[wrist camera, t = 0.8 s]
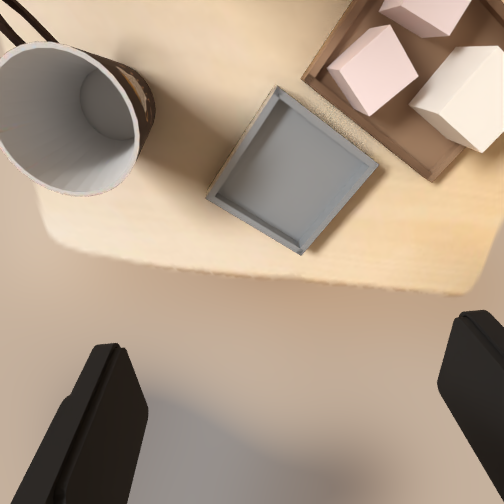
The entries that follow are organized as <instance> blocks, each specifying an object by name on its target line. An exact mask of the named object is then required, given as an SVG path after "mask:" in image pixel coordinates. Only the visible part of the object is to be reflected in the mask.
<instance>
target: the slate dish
mask: <svg viewBox="0 0 504 504" xmlns="http://www.w3.org/2000/svg"><path fill="white" fill-rule="evenodd" d="M378 166H379V164H378V163H376V162H375V161H374V160H373V159H371V158H370V157H369V156H368V155H366V154H365V153H364V152H362V151H361V150H360V149H358V148H357V147H356V146H355V145H353V144H352V143H351V142H349V141H348V140H347V139H346V138H344V137H343V136H342V135H340V134H339V133H338V132H336V131H335V130H334V129H333V128H331V127H330V126H329V125H327V124H326V123H325V122H323V121H322V120H321V119H320V118H318V117H317V116H316V115H314V114H313V113H312V112H311V111H309V110H308V109H307V108H305V107H304V106H303V105H301V104H300V103H299V102H298V101H296V100H295V99H294V98H292V97H291V96H290V95H288V94H287V93H286V92H285V91H283V90H282V89H281V88H279V87H278V86H277V85H276V84H275V85H274V87H273V88H272V90H271V91H270V93H269V94H268V96H267V98H266V99H265V101H264V102H263V104H262V105H261V107H260V109H259V110H258V112H257V113H256V115H255V116H254V118H253V119H252V121H251V123H250V124H249V126H248V127H247V129H246V130H245V132H244V134H243V135H242V137H241V138H240V140H239V141H238V143H237V144H236V146H235V148H234V149H233V151H232V152H231V154H230V155H229V157H228V159H227V160H226V162H225V163H224V165H223V166H222V168H221V169H220V171H219V173H218V174H217V176H216V177H215V179H214V180H213V182H212V184H211V185H210V187H209V188H208V190H207V194H206V198H205V199H207V200H209V201H210V202H212V203H214V204H215V205H217V206H219V207H220V208H222V209H224V210H225V211H227V212H229V213H230V214H232V215H234V216H235V217H237V218H239V219H240V220H242V221H244V222H245V223H247V224H249V225H251V226H252V227H254V228H256V229H257V230H259V231H261V232H262V233H264V234H266V235H267V236H269V237H271V238H272V239H274V240H276V241H277V242H279V243H281V244H282V245H284V246H286V247H287V248H289V249H291V250H292V251H294V252H296V253H297V254H299V255H302V254H303V253H304V252H305V251H306V249H307V248H308V247H309V246H310V245H311V244H312V242H313V241H314V240H315V239H316V238H317V237H318V235H319V234H320V233H321V232H322V231H323V230H324V229H325V227H326V226H327V225H328V224H329V223H330V222H331V220H332V219H333V218H334V217H335V216H336V215H337V213H338V212H339V211H340V210H341V209H342V208H343V206H344V205H345V204H346V203H347V202H348V201H349V199H350V198H351V197H352V196H353V195H354V194H355V192H356V191H357V190H358V189H359V188H360V187H361V185H362V184H363V183H364V182H365V181H366V180H367V178H368V177H369V176H370V175H371V174H372V173H373V171H374V170H375V169H376V168H377V167H378Z"/></svg>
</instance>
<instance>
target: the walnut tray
mask: <svg viewBox="0 0 504 504" xmlns="http://www.w3.org/2000/svg"><path fill="white" fill-rule="evenodd" d="M383 2H384V0H353V1H352V2H351V4H350V5H349V7H348V8H347V10H346V11H345V13H344V14H343V16H342V17H341V19H340V20H339V22H338V23H337V25H336V26H335V28H334V29H333V31H332V32H331V34H330V35H329V37H328V38H327V40H326V41H325V43H324V44H323V46H322V47H321V49H320V50H319V52H318V53H317V55H316V56H315V58H314V59H313V61H312V62H311V64H310V65H309V67H308V68H307V70H306V71H305V73H304V74H303V76H302V77H301V80H303V81H304V82H305V83H306V84H308V85H309V86H310V87H311V88H313V89H314V90H315V91H316V92H318V93H319V94H320V95H321V96H323V97H324V98H325V99H326V100H328V101H329V102H330V103H331V104H333V105H334V106H335V107H336V108H338V109H339V110H340V111H341V112H343V113H344V114H345V115H346V116H348V117H349V118H350V119H351V120H353V121H354V122H355V123H356V124H358V125H359V126H360V127H361V128H363V129H364V130H365V131H366V132H368V133H369V134H370V135H371V136H373V137H374V138H375V139H376V140H378V141H379V142H380V143H381V144H383V145H384V146H385V147H386V148H388V149H389V150H390V151H391V152H393V153H394V154H395V155H396V156H398V157H399V158H400V159H401V160H403V161H404V162H405V163H406V164H408V165H409V166H410V167H411V168H413V169H414V170H415V171H416V172H418V173H419V174H420V175H421V176H423V177H424V178H426V179H427V180H429V181H430V182H433V181H434V180H435V179H436V178H437V177H438V176H439V175H440V174H441V173H442V171H443V170H444V169H445V168H446V167H447V166H448V165H449V164H450V163H451V162H452V161H453V160H454V159H455V158H456V157H457V156H458V155H459V154H460V153H461V152H462V151H463V149H464V148H465V147H466V146H463V145H461V144H458V143H456V142H454V141H451V140H449V139H447V138H446V137H445V136H443V135H442V134H441V133H440V132H439V131H438V130H437V129H435V128H434V127H433V126H432V125H431V124H430V123H429V122H427V121H426V120H425V119H424V118H423V117H422V116H421V115H419V114H418V113H417V112H416V111H415V110H414V109H413V108H411V107H410V106H409V105H408V104H409V103H410V102H411V100H412V99H413V98H414V97H415V96H416V94H417V93H418V92H419V91H420V90H421V88H422V87H423V86H424V85H425V84H426V82H427V81H428V80H429V79H430V78H431V76H432V75H433V74H434V73H435V72H436V70H437V69H438V68H439V67H440V65H441V64H442V63H443V62H444V61H445V59H446V58H447V57H448V56H449V55H450V53H451V52H452V51H453V50H454V49H455V47H469V46H499V47H500V48H501V49H502V51H503V52H504V4H503V2H502V1H501V0H471V2H470V3H469V5H468V7H467V8H466V10H465V11H464V13H463V15H462V16H461V18H460V20H459V21H458V23H457V24H456V26H455V28H454V29H453V31H452V32H451V34H450V36H441V37H428V38H421V37H419V36H418V35H416V34H414V33H413V32H411V31H409V30H408V29H406V28H404V27H403V26H401V25H399V24H398V23H396V22H395V21H393V20H391V19H390V18H388V17H386V16H385V15H383V14H381V13H380V12H379V10H380V8H381V6H382V4H383ZM384 25H391V27H392V29H393V31H394V32H395V34H396V36H397V38H398V40H399V42H400V43H401V45H402V47H403V49H404V51H405V52H406V54H407V56H408V58H409V60H410V62H411V63H412V65H413V67H414V69H415V71H416V72H417V74H418V77H417V78H416V79H415V80H413V81H412V82H411V83H410V84H408V85H407V86H406V87H405V88H404V89H402V90H401V91H400V92H399V93H397V94H396V95H395V96H394V97H393V98H391V99H390V100H389V101H388V102H387V103H385V104H384V105H383V106H382V107H380V108H379V109H378V110H377V111H376V112H374V113H373V114H372V115H371V116H367V115H365V114H363V113H361V112H359V111H357V110H355V109H353V107H352V106H351V104H350V103H349V101H348V100H347V98H346V97H345V95H344V94H343V92H342V91H341V89H340V88H339V86H338V85H337V83H336V82H335V80H334V79H333V77H332V76H331V74H330V73H329V71H328V70H327V67H328V66H329V65H330V64H331V63H332V62H333V61H334V60H335V59H337V58H338V57H339V56H340V55H341V54H342V53H343V52H344V51H345V50H346V49H347V48H349V47H350V46H351V45H352V44H353V43H354V42H355V41H356V40H357V39H358V38H360V37H361V36H362V35H363V34H364V33H365V32H366V31H367V30H368V29H369V28H373V27H379V26H384Z"/></svg>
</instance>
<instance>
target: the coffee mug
mask: <svg viewBox="0 0 504 504" xmlns="http://www.w3.org/2000/svg"><path fill="white" fill-rule="evenodd" d="M2 1H4V2H5V3H6V4H8V5H9V6H10V7H11V8H12V9H14V10H15V11H16V12H18V13H19V14H20V15H21V16H22V17H23V18H24V19H26V20H27V21H28V22H29V23H30V24H31V25H32V26H33V27H34V29H35V30H36V31H37V32H38V33H39V34H40V35H41V36H42V37H43V38H44V39H45V40H46V41H47V42H39V41H35V42H31V43H25V42H24V41H23V40H22V39H21V38H20V37H19V36H18V35H17V34H16V33H15V32H14V30H13V29H12V28H11V27H10V26H9V24H8V23H7V22H6V21H5V20H4V18H3V17H2V16H1V14H0V31H1V32H2V33H3V34H4V35H5V36H6V37H7V38H8V39H9V40H10V41H11V42H12V43H13V44H14V45H15V46H16V47H15V48H13V49H11V50H9V51H7V52H6V53H5V54H4V55H3V56H2V57H1V58H0V149H1V150H2V152H3V153H4V154H5V155H6V157H7V158H8V159H9V161H10V162H11V163H12V164H14V166H15V167H16V168H17V169H18V170H19V171H20V172H22V173H23V174H24V175H25V176H27V177H28V178H30V179H31V180H32V181H34V182H35V183H37V184H39V185H41V186H43V187H45V188H47V189H49V190H52V191H55V192H57V193H60V194H65V195H70V196H93V195H98V194H102V193H104V192H107V191H109V190H112V189H113V188H115V187H116V186H117V185H119V184H120V183H122V182H123V180H124V179H125V178H126V177H127V176H128V175H129V174H130V172H131V170H132V168H133V166H134V164H135V162H136V160H137V158H138V156H139V154H140V151H141V149H142V147H143V145H144V143H145V140H146V138H147V136H148V134H149V131H150V129H151V127H152V125H153V122H154V118H155V102H154V98H153V95H152V92H151V90H150V88H149V86H148V85H147V83H146V82H145V80H144V79H143V78H142V77H141V76H140V75H139V74H138V73H137V72H136V71H134V70H133V69H131V68H130V67H128V66H126V65H124V64H121V63H118V62H116V61H113V60H110V59H107V58H104V57H101V56H98V55H95V54H92V53H89V52H86V51H83V50H80V49H77V48H74V47H71V46H68V45H64V44H59V43H58V41H57V40H56V39H55V38H54V37H53V36H52V35H51V34H50V33H49V32H48V31H47V30H46V29H45V28H44V27H43V26H42V25H41V24H40V23H39V22H38V21H37V20H36V19H35V18H34V17H33V16H32V15H31V14H30V13H29V12H28V11H27V10H26V9H25V8H24V7H23V6H22V5H21V4H20V3H19V2H18V1H16V0H2Z"/></svg>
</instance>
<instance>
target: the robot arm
mask: <svg viewBox="0 0 504 504" xmlns="http://www.w3.org/2000/svg"><path fill="white" fill-rule="evenodd" d="M437 385H438V390H439V392H440V394H441V396H442V398H443V399H444V401H445V403H446V405H447V406H448V408H449V410H450V411H451V413H452V415H453V417H454V418H455V420H456V422H457V423H458V425H459V427H460V428H461V430H462V432H463V433H464V435H465V437H466V439H467V440H468V442H469V444H470V445H471V447H472V449H473V450H474V452H475V454H476V455H477V457H478V459H479V461H480V462H481V464H482V466H483V467H484V469H485V471H486V472H487V474H488V476H489V478H490V479H491V481H492V482H493V484H494V486H495V488H496V489H497V491H498V493H499V495H500V496H501V498H502V499H503V501H504V327H503V326H502V325H501V324H500V323H499V322H498V321H497V320H496V319H495V318H494V317H493V316H492V315H491V314H490V313H489V312H488V311H486V310H478V311H466V312H462V313H461V314H460V315H459V317H458V318H455V319H454V322H453V326H452V330H451V333H450V337H449V340H448V344H447V348H446V351H445V355H444V359H443V362H442V366H441V369H440V373H439V377H438V380H437ZM147 420H148V406H147V403H146V401H145V398H144V395H143V393H142V390H141V387H140V385H139V382H138V379H137V377H136V374H135V371H134V369H133V366H132V363H131V361H130V358H129V356H128V353H127V350H126V349H125V348H121V347H120V346H119V344H118V343H111V344H100V345H96V346H95V347H94V348H93V349H92V352H91V354H90V356H89V358H88V360H87V362H86V364H85V366H84V368H83V370H82V372H81V374H80V376H79V378H78V380H77V382H76V384H75V386H74V388H73V390H72V393H71V394H70V395H69V396H67V397H66V398H65V399H64V400H63V402H62V403H61V405H60V407H59V409H58V411H57V413H56V415H55V416H54V418H53V420H52V422H51V424H50V426H49V428H48V430H47V432H46V434H45V436H44V439H43V440H42V442H41V444H40V446H39V448H38V450H37V452H36V454H35V456H34V458H33V460H32V462H31V464H30V466H29V468H28V470H27V472H26V474H25V476H24V478H23V480H22V482H21V484H20V486H19V488H18V490H17V492H16V494H15V496H14V498H13V500H12V502H11V504H127V501H128V497H129V493H130V489H131V485H132V481H133V477H134V473H135V469H136V464H137V460H138V457H139V453H140V448H141V444H142V441H143V436H144V432H145V428H146V424H147Z"/></svg>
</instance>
